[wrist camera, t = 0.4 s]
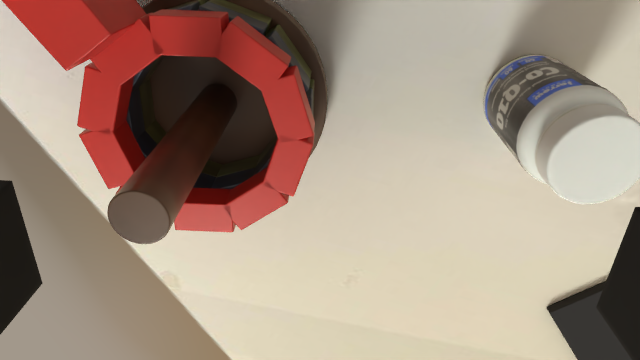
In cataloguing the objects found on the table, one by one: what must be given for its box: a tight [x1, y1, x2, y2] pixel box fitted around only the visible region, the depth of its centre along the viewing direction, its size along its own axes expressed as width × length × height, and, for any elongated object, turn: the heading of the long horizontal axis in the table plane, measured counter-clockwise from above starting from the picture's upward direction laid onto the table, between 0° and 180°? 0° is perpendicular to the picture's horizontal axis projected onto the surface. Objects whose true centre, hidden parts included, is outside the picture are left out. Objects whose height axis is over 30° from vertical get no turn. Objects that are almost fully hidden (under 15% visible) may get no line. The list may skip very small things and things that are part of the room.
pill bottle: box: [484, 55, 640, 204], centre depth 23 cm, size 5×5×8 cm
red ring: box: [2, 0, 315, 232], centre depth 20 cm, size 15×11×4 cm
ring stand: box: [108, 0, 327, 244], centre depth 21 cm, size 12×12×13 cm
